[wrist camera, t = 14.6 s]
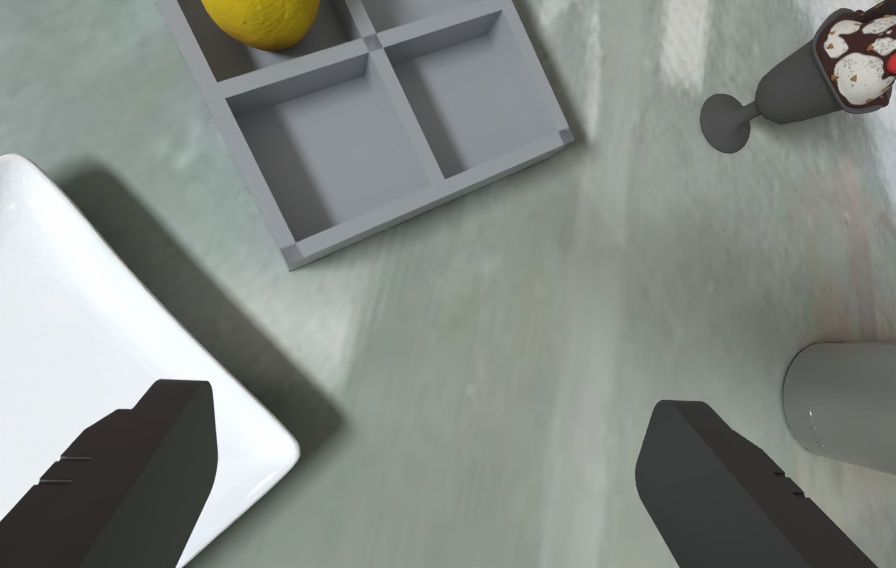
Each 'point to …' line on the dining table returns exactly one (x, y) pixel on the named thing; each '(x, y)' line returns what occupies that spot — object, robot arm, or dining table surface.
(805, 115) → the sundae
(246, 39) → the apple
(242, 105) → the tray
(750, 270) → the dining table surface
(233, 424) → the salad plate
